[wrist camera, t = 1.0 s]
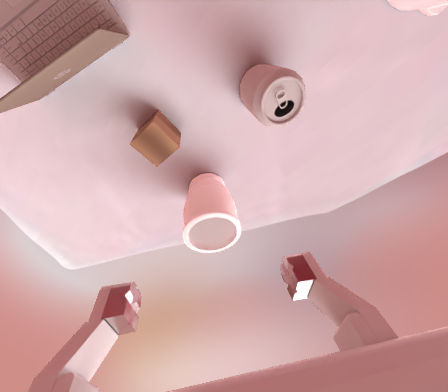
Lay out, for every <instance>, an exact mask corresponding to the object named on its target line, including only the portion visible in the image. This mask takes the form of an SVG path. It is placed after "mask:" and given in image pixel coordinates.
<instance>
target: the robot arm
mask: <svg viewBox="0 0 448 392" xmlns="http://www.w3.org/2000/svg"><path fill="white" fill-rule="evenodd" d="M387 1H388V2H389V3H390V4H391V5H392V6H393V7H394V8H396V9H399V10H403V11H409V10H419V11H420V12H422V13H423V14H425V15H427V16H432V15H436V14H438V13H440V12H441V11H442V10H443V9H444V8H445V7H446V6H448V0H387ZM282 261H283V264H282V265H281V269H280V270H281V275H282V278H283V280H284V282H285V283H287V284H288V288H287V289H288V292H289V294H290V296H291V298H292V300H299V299H305V298H307V299H308V300H309V301H310V302H311V303H312V304H313V305H314V306H316V307H317V308H318V309H319V310H320V311H321V312H322V313H323V314H324V315H326V316H327V317H328V318H329V319H330V320H331V321H332V322H333V323H334V324H336V326H338V327H339V328H338V329H337V331H336V332H335V334H334V336H333V338H334V340H335V342H336V344H337V346H338V348H339V350H340V352H335V353H331V354H327V355H323V356H319V357H314V358H310V359H306V360H301V361H297V362H293V363H289V364H284V365H280V366H276V367H271V368H267V369H263V370H259V371H254V372H250V373H246V374H241V375H237V376H233V377H228V378H224V379H220V380H215V381H211V382H207V383H203V384H198V385H194V386H190V387H185V388H181V389H177V390H172V391H168V392H448V326H447V327H443V328H439V329H434V330H430V331H426V332H421V333H417V334H413V335H409V336H404V337H400V338H399V337H398V336H397V335H396V334H395V332H394V331H393V330H392V328H391V327H390V326H389V324H388V323H387V322H386V320H385V319H384V318H383V316H382V315H381V314H380V313H379V311H378V310H377V309H376V307H374V306H373V305H371V304H369V303H368V302H366V301H365V300H363V299H362V298H360V297H359V296H357V295H356V294H354V293H353V292H351V291H350V290H348V289H347V288H345V287H344V286H342V285H341V284H339V283H337V282H336V281H334V280H333V279H331V278H330V277H326V276H325V274H324V273H323V271H322V269H321V268H320V266H319V265H318V263H317V262H316V260H315V259H314V257H313V256H312V254H311V253H310V252H306V253H298V254H293V255H288V256H284V257H283V258H282ZM140 306H141V294H140V291H139V290H138V289H136V284H135V282H129V283H124V284H117V285H110V286H104V287H102V288H101V290H100V291H99V294H98V297H97V299H96V302H95V305H94V308H93V311H92V313H91V316H90V319H89V322H86V323H84V324H83V326H82V327H81V328H80V329H79V330H78V331H77V332H76V334H75V335H73V337H72V338H71V339H70V340H69V341H68V342H67V343H66V344H65V345H64V347H63V348H62V349H61V350H60V351H59V352H58V353H57V354H56V355H55V356H54V358H53V359H52V360H51V361H50V362H49V363H48V364H47V365H46V366H45V367H44V369H43V370H42V371H41V372H40V373H39V374H38V375H37V376H36V377H35V379H34V380H33V382H32V384H31V387H30V389H29V391H28V392H99V389H98V387H97V386H95V385H93V384H92V383H90V382H89V381H90V380H91V378H92V376H93V375H94V374H95V372H96V370H97V369H98V367H99V366H100V364H101V363H102V361H103V360H104V358H105V356H106V355H107V353H108V352H109V350H110V349H111V347H112V346H113V344H114V342H115V341H116V340H117V338H118V335H122V334H126V333H130V332H135V331H136V329H137V323H138V315H137V311H138V310H139V309H140Z"/></svg>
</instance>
